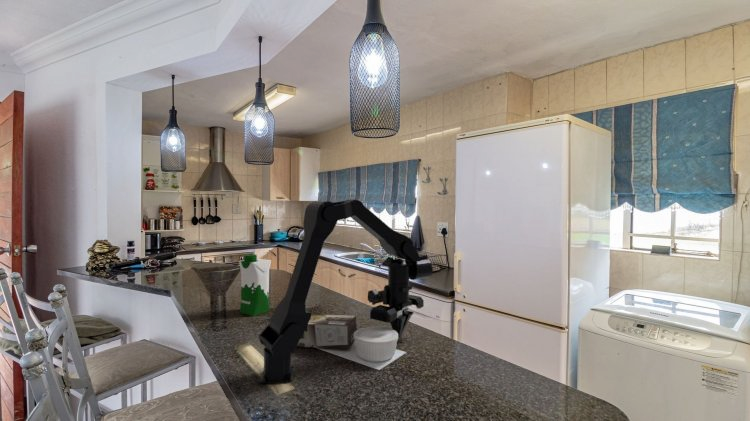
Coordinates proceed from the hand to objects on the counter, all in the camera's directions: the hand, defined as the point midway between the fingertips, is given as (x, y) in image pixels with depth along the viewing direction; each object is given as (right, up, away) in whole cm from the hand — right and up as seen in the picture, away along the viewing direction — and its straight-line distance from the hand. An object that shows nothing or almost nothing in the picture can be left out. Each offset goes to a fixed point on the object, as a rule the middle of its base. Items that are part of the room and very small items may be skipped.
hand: (397, 338), depth 97 cm
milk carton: (-48, 0, +26) cm, 54 cm away
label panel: (-11, -1, -5) cm, 12 cm away
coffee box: (-28, +2, +1) cm, 28 cm away
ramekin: (-6, -1, -8) cm, 10 cm away
